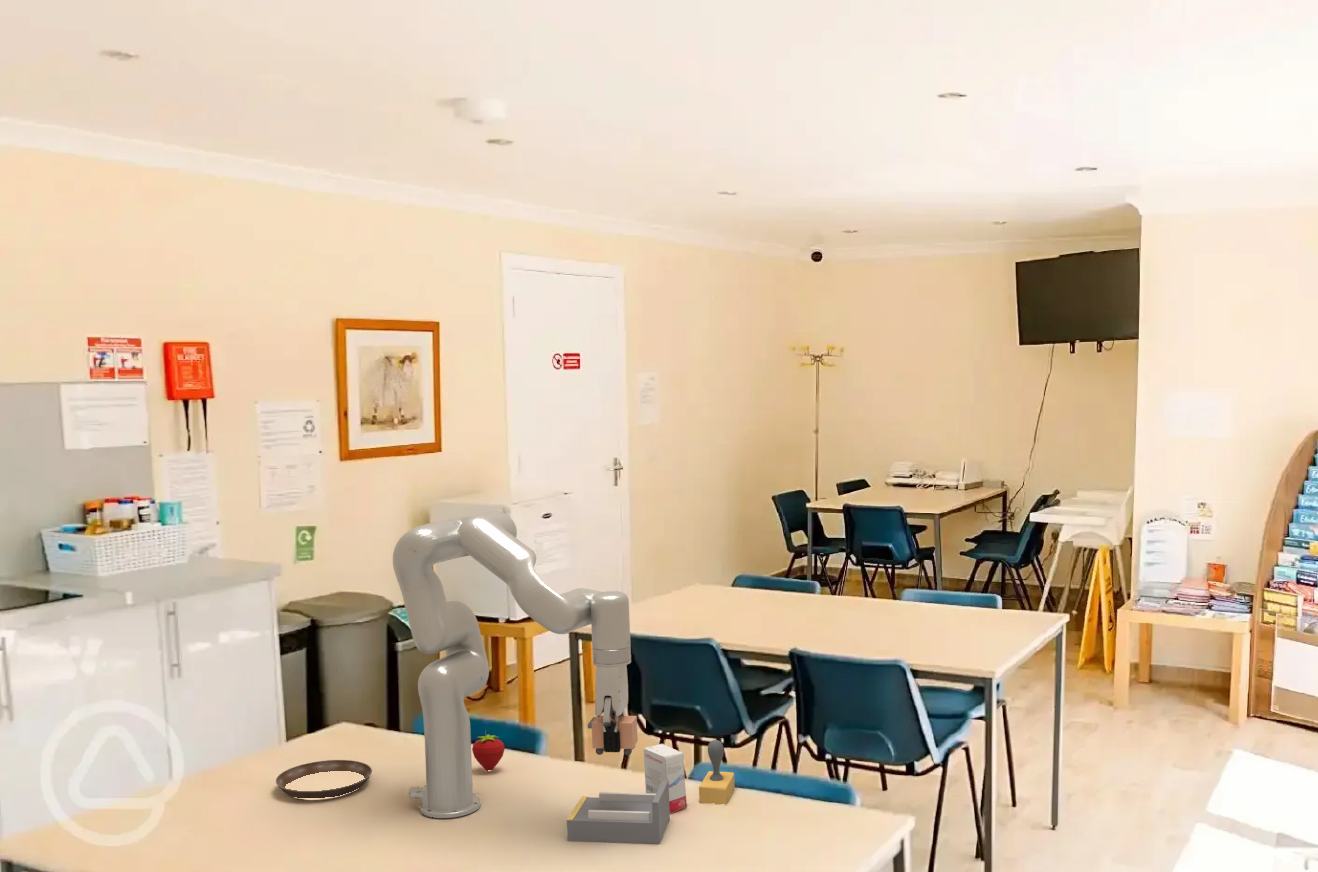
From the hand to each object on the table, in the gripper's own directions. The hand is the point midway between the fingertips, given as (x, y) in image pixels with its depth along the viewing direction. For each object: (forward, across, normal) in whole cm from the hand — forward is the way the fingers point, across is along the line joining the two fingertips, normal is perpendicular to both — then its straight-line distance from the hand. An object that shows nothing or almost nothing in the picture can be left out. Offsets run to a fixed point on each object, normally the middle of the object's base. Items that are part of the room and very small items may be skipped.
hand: (615, 746), depth 222 cm
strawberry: (+17, -32, -37) cm, 51 cm away
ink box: (+17, -14, +7) cm, 23 cm away
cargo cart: (+1, 0, 0) cm, 1 cm away
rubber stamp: (+17, -21, +17) cm, 32 cm away
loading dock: (+17, 0, 0) cm, 17 cm away
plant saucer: (+17, -19, -71) cm, 75 cm away
